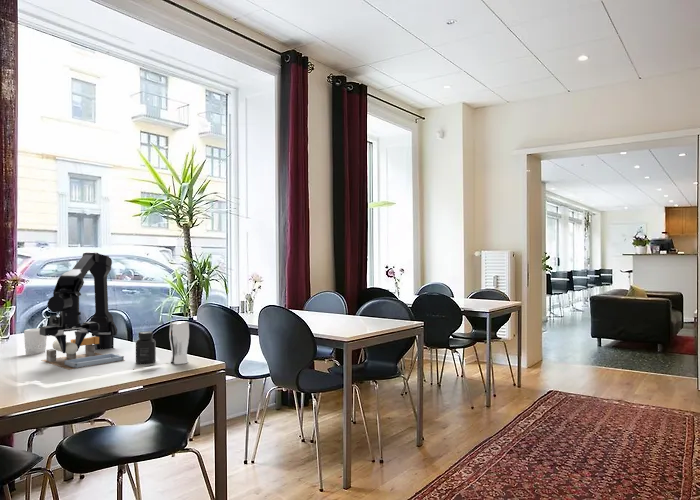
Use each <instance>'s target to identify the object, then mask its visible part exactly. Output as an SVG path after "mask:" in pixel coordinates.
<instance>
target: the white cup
mask: <svg viewBox="0 0 700 500" xmlns="http://www.w3.org/2000/svg"><path fill="white" fill-rule="evenodd" d="M40 328H41V327H38V328H37V327H36V328H28V329H24V332H23V333H24V335H23V336H24V337H23V339H24V348H25V356H27V355H28V356H29V355H36V354H37V355H38V354H43V353H46V351H47V349H46V346H47V337H48V336H44V335H40Z"/></svg>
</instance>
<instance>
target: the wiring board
mask: <svg viewBox="0 0 700 500" xmlns="http://www.w3.org/2000/svg"><path fill="white" fill-rule="evenodd" d="M84 346H85V347H84V349H85V350H84V353H82V354H77V352H76V353H74V354H67V353H65V354H66V356H62V357H57V350H55V349H53V348H51V349H46V359H42V360H40V361H42V362H44V363H47V364H50V365H54V366H56V367H59V368H62V369H66V370H68V371H70V370H75V369H78V368H73V367H70V366H67V365H64V360H70V359H77V358H84V357H90V356H97V355H104V354H103V353H99V352H95V351H96V349H95V345H94V344H91V345H84ZM125 361H126V360H125V359H124V360H123V361H122V362H125ZM119 362H120V361H117V362H116V363H119ZM111 363H114V362H110V363H109V364H111ZM106 364H107V365H108V363H104V364H103V365H106ZM99 365H102V364H98V365H97V366H99ZM93 366H96V365H92V366H91V367H93ZM87 367H90V366H86V367H85V368H87ZM82 368H84V367H80V368H79V369H82Z"/></svg>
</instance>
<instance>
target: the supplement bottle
mask: <svg viewBox="0 0 700 500" xmlns="http://www.w3.org/2000/svg"><path fill="white" fill-rule="evenodd" d="M137 337H138V339H137V340H136V341H135V364H136V365H146V366H144V367H145V368H146V367H148V365H149V367H153V366H154V363H156V362H157V361H156V359H157V357H156V356H157V355H156V354H157V350H156V344H157V343H156V339H154V338H153V337H154V335H153V331H139V332H138V335H137ZM151 364H152V365H151Z"/></svg>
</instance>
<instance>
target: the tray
mask: <svg viewBox="0 0 700 500" xmlns="http://www.w3.org/2000/svg"><path fill="white" fill-rule="evenodd" d="M123 360H125V359H124V355H120V354H117V353H106V354H103V355H97V356H90V357H84V358H77V359H70V360H64V365H67V366H70V367H73V368H77V369H81V368H80V367H83V368H87V367H86V366H89V367H93V366H92V365H95V366H99V365H98V364H101V365H105V364H104V363H107V364H111V363H110V362H113V363H118V362H117V361H119V362H124V361H123Z"/></svg>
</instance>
